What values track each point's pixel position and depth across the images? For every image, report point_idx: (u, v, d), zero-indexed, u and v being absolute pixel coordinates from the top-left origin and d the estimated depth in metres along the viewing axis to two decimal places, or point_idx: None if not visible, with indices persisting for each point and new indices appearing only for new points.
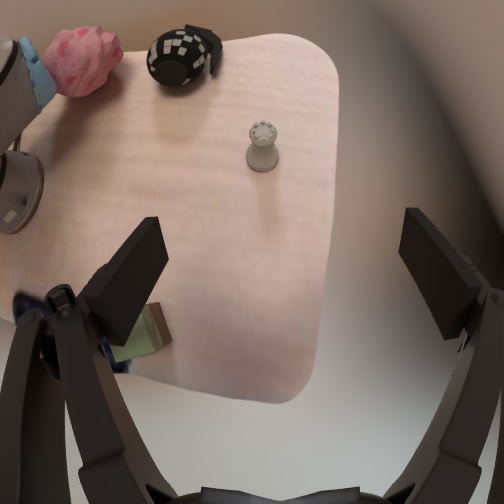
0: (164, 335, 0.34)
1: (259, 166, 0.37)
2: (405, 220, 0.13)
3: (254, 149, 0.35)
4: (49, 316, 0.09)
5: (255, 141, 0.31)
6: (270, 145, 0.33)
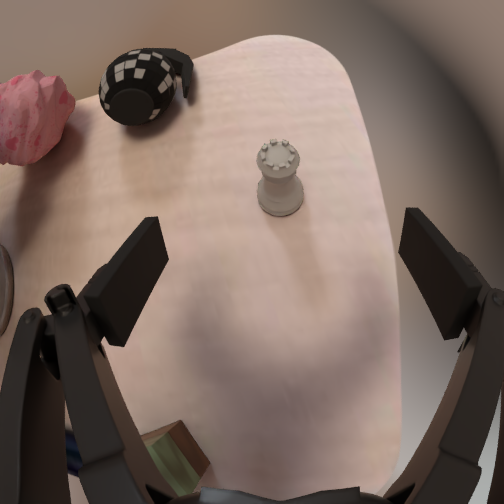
0: (198, 463, 0.21)
1: (280, 209, 0.26)
2: (405, 220, 0.13)
3: (268, 185, 0.24)
4: (49, 316, 0.09)
5: (269, 173, 0.21)
6: (292, 174, 0.22)
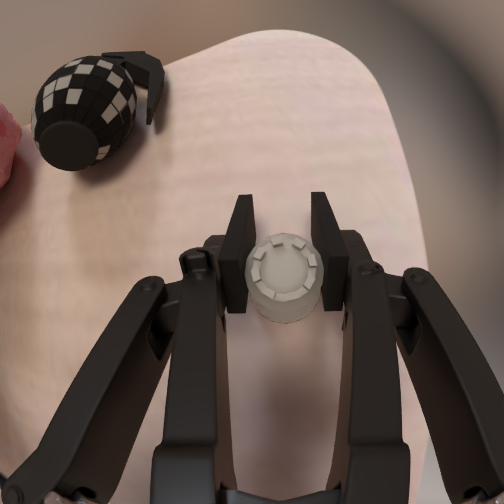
0: None
1: (285, 320, 0.17)
2: (311, 204, 0.16)
3: None
4: (168, 285, 0.11)
5: (268, 303, 0.11)
6: None
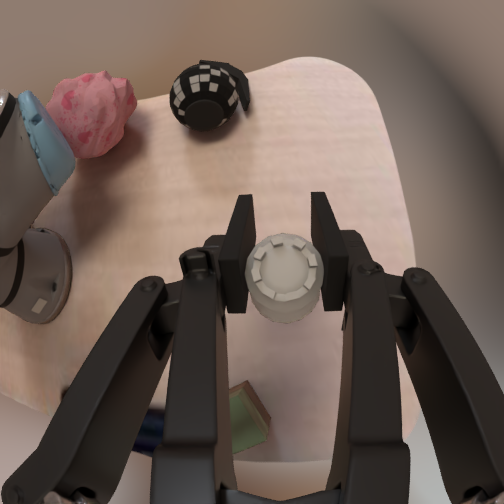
0: (264, 415, 0.28)
1: (285, 320, 0.17)
2: (311, 204, 0.16)
3: None
4: (168, 285, 0.11)
5: (268, 303, 0.11)
6: None
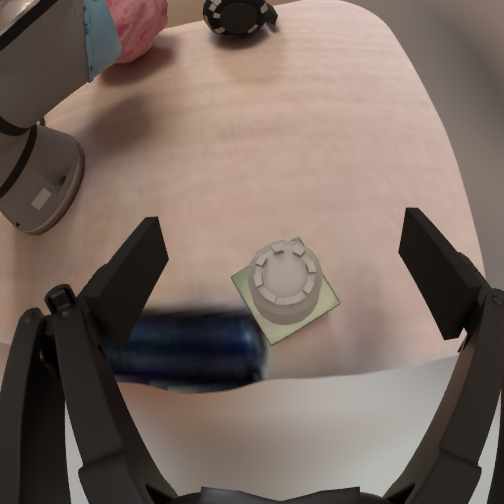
0: None
1: (285, 322, 0.17)
2: (405, 220, 0.13)
3: None
4: (49, 316, 0.09)
5: (269, 307, 0.12)
6: None
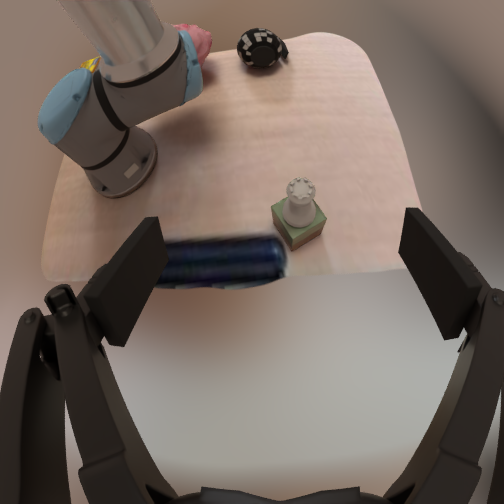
0: None
1: (300, 223, 0.36)
2: (405, 220, 0.13)
3: (292, 207, 0.34)
4: (49, 316, 0.09)
5: (295, 201, 0.31)
6: (309, 201, 0.33)
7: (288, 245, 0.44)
